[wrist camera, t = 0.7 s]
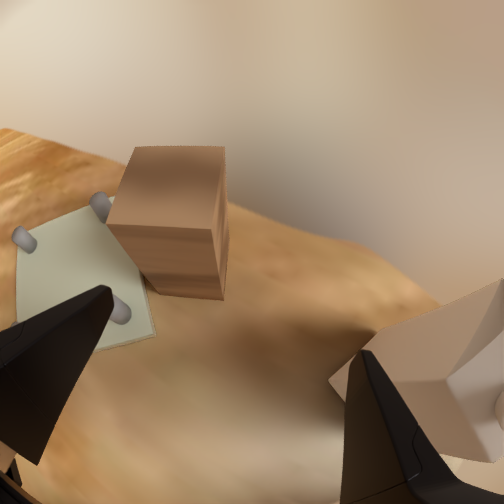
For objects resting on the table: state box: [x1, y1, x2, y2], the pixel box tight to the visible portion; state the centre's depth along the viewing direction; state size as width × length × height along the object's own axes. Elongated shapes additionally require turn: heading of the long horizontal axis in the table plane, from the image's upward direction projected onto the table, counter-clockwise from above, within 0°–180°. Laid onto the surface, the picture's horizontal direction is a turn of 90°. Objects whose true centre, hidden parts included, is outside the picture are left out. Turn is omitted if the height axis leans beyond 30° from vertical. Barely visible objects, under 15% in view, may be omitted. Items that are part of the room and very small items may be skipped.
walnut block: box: [106, 146, 229, 301], centre depth 21 cm, size 6×6×12 cm
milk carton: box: [328, 278, 504, 463], centre depth 13 cm, size 7×7×19 cm
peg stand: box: [11, 192, 157, 353], centre depth 23 cm, size 16×16×4 cm
